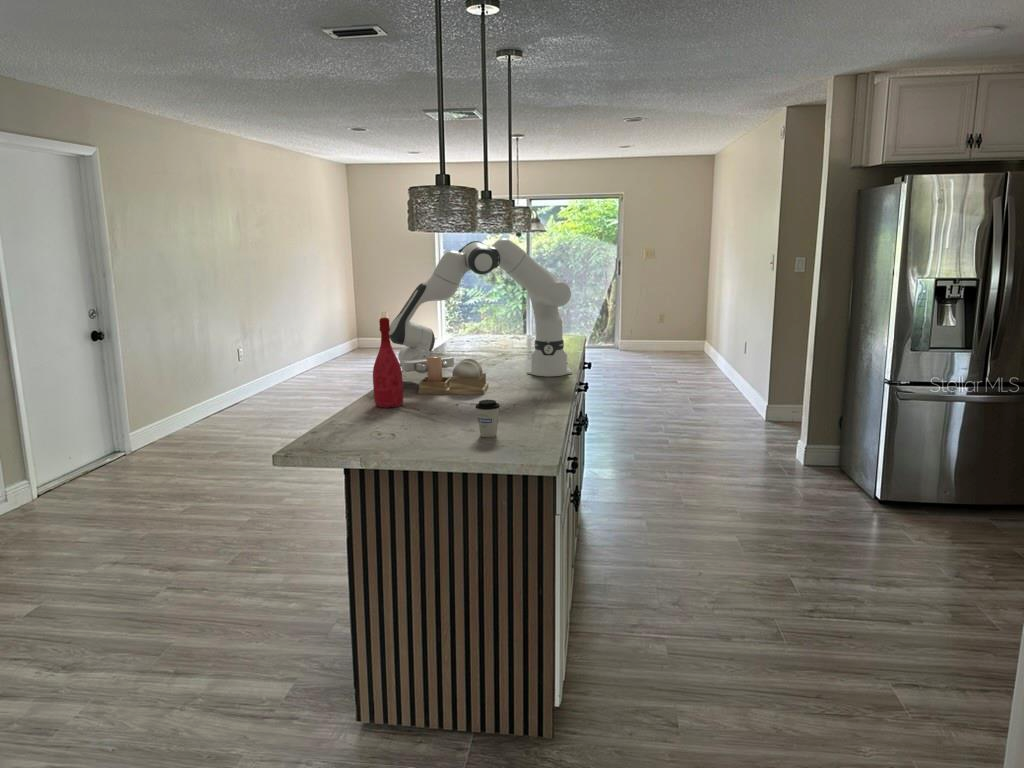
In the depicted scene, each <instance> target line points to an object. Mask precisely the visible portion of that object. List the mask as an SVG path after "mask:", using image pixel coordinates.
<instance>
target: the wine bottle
mask: <svg viewBox="0 0 1024 768" xmlns="http://www.w3.org/2000/svg"><path fill="white" fill-rule="evenodd" d="M379 331H380V335H381V336H380V346H379V351H378V353H377V356H376V358H375V360H374V361H375V362H374V364H373V369H372V386H373V396H374V398H373V399H374V404H375V406H376V407H378V408H381V407H384V408H383V409H391V408H390V407H392V408H397V406H398V407H400V406H402V405H403V403H404V388H403V387H404V386H403V384H404V383H403V381H404V380H403V370H402V367H400V364H399V363H400V361H399V358H398V356H396V352H395V351H394V349H393V347H392V344H391V340H390V337H389V331H390V319H389V318H388V317H380V318H379Z"/></svg>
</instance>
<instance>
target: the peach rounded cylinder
mask: <svg viewBox="0 0 1024 768" xmlns="http://www.w3.org/2000/svg"><path fill="white" fill-rule="evenodd" d="M426 361H427V372H426V373H427V375H426V377H428V382H443V380H442V377H443V368H442V362H441V356H430V357H426Z"/></svg>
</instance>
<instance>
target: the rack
mask: <svg viewBox="0 0 1024 768" xmlns="http://www.w3.org/2000/svg"><path fill="white" fill-rule="evenodd" d="M451 375H452V376H450V377H447V376H446V377H445V376H442V380H443V382H428V377H427V376H425V377H424V378H423V379H421V380H420V381H419V382H418V385H419V389H418V395H484V394H485V393H486V391H488V389H489V383H488V382H487V373H485V372H484V373H483V367H482V365H481V364H480V363H479V362H478V361H477V360H476V359H474V358H471V357H469V358H468V357H467V358H464V359H462V360H461V361H459V362H458V363H457V364H456V365H454V368H453V371H452V374H451Z"/></svg>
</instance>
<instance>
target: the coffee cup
mask: <svg viewBox="0 0 1024 768" xmlns="http://www.w3.org/2000/svg"><path fill="white" fill-rule="evenodd" d="M500 407H501V405H500V404H499V403H498V402H497V401H496V400H494V399H482V400H479V401H478V403H476V405H475V409H476V414H477V415H476V416H477V423H478V429H479V435H480V437H481V436H482V437H481V438H483V437H493V438H495V436H496V437H497V435H498V424H499V423H498V422H499V412H500Z"/></svg>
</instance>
